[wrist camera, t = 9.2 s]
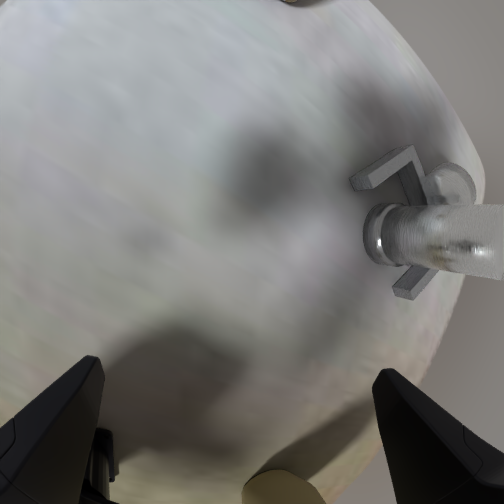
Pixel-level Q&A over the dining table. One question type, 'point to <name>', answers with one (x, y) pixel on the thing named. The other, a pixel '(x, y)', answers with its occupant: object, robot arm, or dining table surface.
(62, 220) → the dining table surface
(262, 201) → the dining table surface
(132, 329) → the dining table surface
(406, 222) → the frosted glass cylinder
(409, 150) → the duct saddle
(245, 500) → the squeeze bottle
